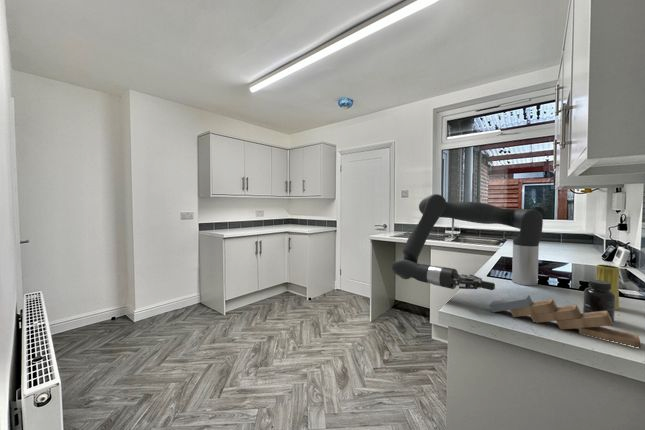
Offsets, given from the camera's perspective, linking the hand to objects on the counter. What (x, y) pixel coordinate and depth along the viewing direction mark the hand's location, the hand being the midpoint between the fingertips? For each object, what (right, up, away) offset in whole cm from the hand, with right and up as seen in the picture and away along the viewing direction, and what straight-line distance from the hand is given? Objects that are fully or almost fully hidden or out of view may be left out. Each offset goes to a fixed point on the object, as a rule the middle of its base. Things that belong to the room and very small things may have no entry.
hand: (494, 286), depth 91 cm
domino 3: (+8, -7, -7) cm, 13 cm away
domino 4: (+12, -7, -12) cm, 18 cm away
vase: (+40, -8, +2) cm, 41 cm away
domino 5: (+15, -8, -15) cm, 22 cm away
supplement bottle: (+28, -8, -7) cm, 30 cm away
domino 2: (+4, -7, -4) cm, 9 cm away
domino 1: (0, -7, +1) cm, 7 cm away
